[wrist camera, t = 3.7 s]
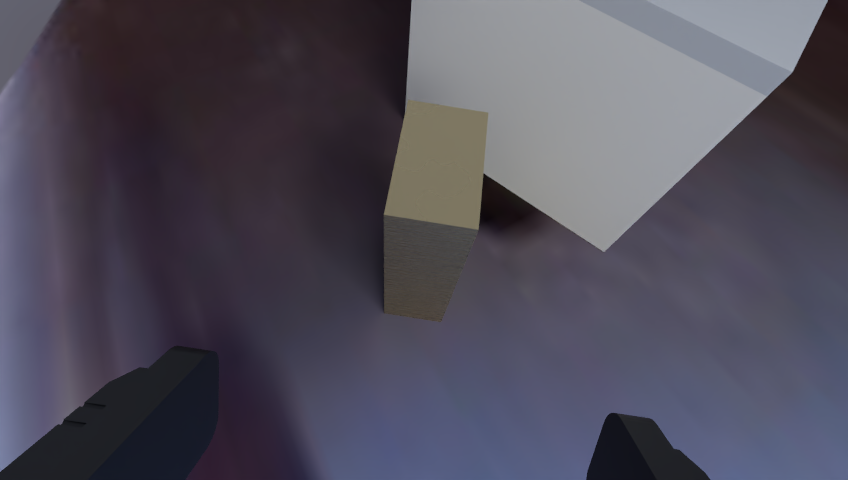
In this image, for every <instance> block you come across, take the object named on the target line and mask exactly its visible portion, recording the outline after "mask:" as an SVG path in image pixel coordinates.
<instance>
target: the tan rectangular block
mask: <svg viewBox="0 0 848 480" xmlns="http://www.w3.org/2000/svg"><path fill="white" fill-rule="evenodd" d="M487 124H488V112H482V111H475V110H469V109H463V108H457V107H451V106H445V105H438V104H432V103H426V102H420V101H414V100H408V102H407V107H406V112H405V116H404V121H403V126H402V131H401V135H400V140H399V145H398V150H397V154H396V159H395V164H394V169H393V173H392V178H391V183H390V188H389V192H388V197H387V202H386V207H385V212H384V313H387V314H394V315H400V316H407V317H413V318H419V319H426V320H432V321H439V322H441V321H442V318H443V316H444V313H445V311H446V309H447V306H448V304H449V301H450V299H451V296H452V294H453V291H454V289H455V286H456V284H457V281H458V279H459V276H460V274H461V272H462V269H463V267H464V264H465V262H466V259H467V257H468V254H469V252H470V249H471V247H472V244H473V242H474V239H475V237H476V235H477V232H478V229H479V217H480V206H481V194H482V182H483V171H484V159H485V147H486V135H487Z"/></svg>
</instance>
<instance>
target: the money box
mask: <svg viewBox="0 0 848 480" xmlns="http://www.w3.org/2000/svg"><path fill="white" fill-rule="evenodd" d="M827 1H828V0H412V3H411V20H410V37H409V54H408V71H407V88H406V105H405V112H406V107H407V102H408V100H414V101H420V102H426V103H432V104H438V105H445V106H451V107H457V108H463V109H469V110H475V111H482V112H488V124H487V135H486V147H485V159H484V171H483V173H484V174H486V175H487V176H489V177H490V178H492V179H493V180H495V181H496V182H498V183H499V184H501V185H502V186H504V187H505V188H507V189H508V190H510V191H512V192H513V193H515V194H516V195H518V196H519V197H521V198H522V199H524V200H525V201H527V202H528V203H530V204H531V205H533V206H534V207H536V208H537V209H539V210H541V211H542V212H544V213H545V214H547V215H548V216H550V217H551V218H553V219H554V220H556V221H557V222H559V223H560V224H562V225H563V226H565V227H566V228H568V229H570V230H571V231H573V232H574V233H576V234H577V235H579V236H580V237H582V238H583V239H585V240H586V241H588V242H589V243H591V244H592V245H594V246H596V247H597V248H599V249H600V250H602V251H603V252H604V251H605V250H606V249H607V248H609V247H610V246H611V245H612V244H613V243H614V242H615V241H616V240H617V239H618V238H619V237H620V236H621V235H622V234H623V233H624V232H625V231H626V230H627V229H628V228H630V227H631V226H632V225H633V224H634V223H635V222H636V221H637V220H638V219H639V218H640V217H641V216H642V215H643V214H644V213H645V212H646V211H647V210H648V209H649V208H651V207H652V206H653V205H654V204H655V203H656V202H657V201H658V200H659V199H660V198H661V197H662V196H663V195H664V194H665V193H666V192H667V191H668V190H669V189H670V188H672V187H673V186H674V185H675V184H676V183H677V182H678V181H679V180H680V179H681V178H682V177H683V176H684V175H685V174H686V173H687V172H688V171H689V170H690V169H691V168H693V167H694V166H695V165H696V164H697V163H698V162H699V161H700V160H701V159H702V158H703V157H704V156H705V155H706V154H707V153H708V152H709V151H710V150H711V149H712V148H713V147H715V146H716V145H717V144H718V143H719V142H720V141H721V140H722V139H723V138H724V137H725V136H726V135H727V134H728V133H729V132H730V131H731V130H732V129H733V128H734V127H736V126H737V125H738V124H739V123H740V122H741V121H742V120H743V119H744V118H745V117H746V116H747V115H748V114H749V113H750V112H751V111H752V110H753V109H754V108H755V107H757V106H758V105H759V104H760V103H761V102H762V101H763V100H764V99H765V98H766V97H767V96H768V95H769V94H770V93H771V92H772V91H773V90H774V89H775V88H776V87H778V86H779V85H780V84H781V83H782V82H783V81H784V80H785V79H786V78H787V77H788V76H789V75H790V74H791V73H792V72H793V70H794V68H795V66H796V64H797V62H798V60H799V58H800V56H801V54H802V52H803V50H804V48H805V46H806V44H807V41H808V39H809V37H810V35H811V33H812V31H813V29H814V27H815V25H816V23H817V21H818V19H819V17H820V15H821V13H822V11H823V9H824V7H825V5H826V3H827Z"/></svg>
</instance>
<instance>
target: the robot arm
mask: <svg viewBox="0 0 848 480" xmlns="http://www.w3.org/2000/svg"><path fill="white" fill-rule="evenodd" d="M218 389H219V359H218V355H217V353H216V352H214V351H208V350H202V349H195V348H189V347H182V346H174V347H172V348H171V349H170V350H168V351H167V352H166V353H165V354H164V355H163V356H162V357H161V358H159V359H158V360H157V361H156V362H155V363H154V364H153V365H152V366H150V367H149V368H148V369H147V368H141V367H139V368H137V369H135V370H133V371H131V372H129V373H127V374H125V375H123V376H121V377H119V378H117V379H115V380H113V381H111V382H109V383H108V384H106V385H105V386H104V387H103V388H101V389H100V390H99V391H98V392H97V393H95V394H94V395H93V396H92V397H91V398H89V399H88V400H87V401H86V402H85V404H84V406H83V407H78V408H77V409H76V410H75V411H74V412H72V413H71V414H70V415H69V416H68V417H66V418H65V419H64V421H63V423H62V424H61V425H59V424H58V425H57V426H55V427H54V428H53V429H52V430H51V431H49V432H48V433H47V434H46V435H45V436H43V437H42V438H41V439H40V440H38V441H37V442H36V443H35V444H34V445H32V446H31V447H30V448H29V449H28V450H26V451H25V452H24V453H23V454H22V455H20V456H19V457H18V458H17V459H15V460H14V461H13V462H12V463H11V464H9V465H8V466H7V467H6V468H5V469H3V470H2V471H1V472H0V480H185V479H186V478H187V476H188V475H189V473H190V472H191V471H192V469H193V468H194V466H195V465H196V463H197V462H198V460H199V459H200V457H201V456H202V455H203V453H204V452H205V450H206V449H207V447H208V445H209V443H210V441H211V439H212V437H213V434H214V432H215V429H216V425H217V420H218ZM586 480H710V479H709V477H708V476H707V475H706V473H705V472H704V471H702V470H701V469H700V468H699V467H698V466H697V465H696V464H695V463H693V462H692V461H691V460H690V459H689V458H688V457H687V456H685V455H684V454H683V453H682V452H681V451H680V450H677V449H673V447H672V446H671V444H670V443H669V441H668V440H667V439H666V437H665V436H664V434H663V433H662V431H661V430H660V428H659V427H658V425H657V424H656V423H655V422H654V421H653V420H652V419H650V418H644V417H637V416H631V415H624V414H617V413H610V414H609V415H608V416H607V417H606V419H605V421H604V424H603V427H602V430H601V433H600V436H599V439H598V442H597V445H596V448H595V451H594V454H593V457H592V460H591V463H590V466H589V469H588V472H587V479H586Z"/></svg>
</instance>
